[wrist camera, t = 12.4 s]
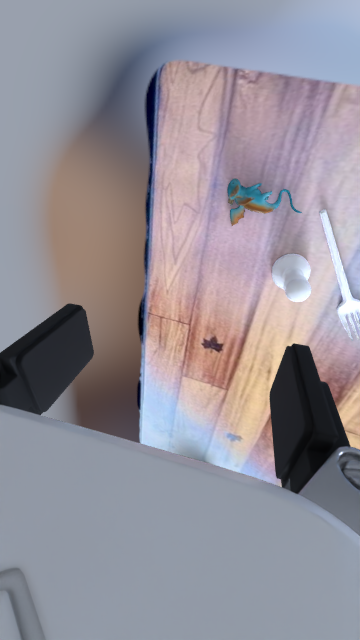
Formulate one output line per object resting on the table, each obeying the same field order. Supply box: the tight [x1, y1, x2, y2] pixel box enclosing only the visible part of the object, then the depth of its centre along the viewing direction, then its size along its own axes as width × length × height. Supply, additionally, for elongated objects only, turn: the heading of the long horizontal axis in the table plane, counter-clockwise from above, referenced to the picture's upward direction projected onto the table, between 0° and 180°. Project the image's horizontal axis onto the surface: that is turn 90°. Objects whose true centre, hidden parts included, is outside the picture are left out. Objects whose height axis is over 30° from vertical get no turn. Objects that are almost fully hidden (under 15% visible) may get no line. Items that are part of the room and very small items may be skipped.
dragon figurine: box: [228, 178, 302, 226], centre depth 30 cm, size 6×7×8 cm
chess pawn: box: [272, 253, 311, 302], centre depth 31 cm, size 5×5×9 cm
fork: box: [319, 209, 360, 341], centre depth 33 cm, size 3×20×2 cm, turn 29°
